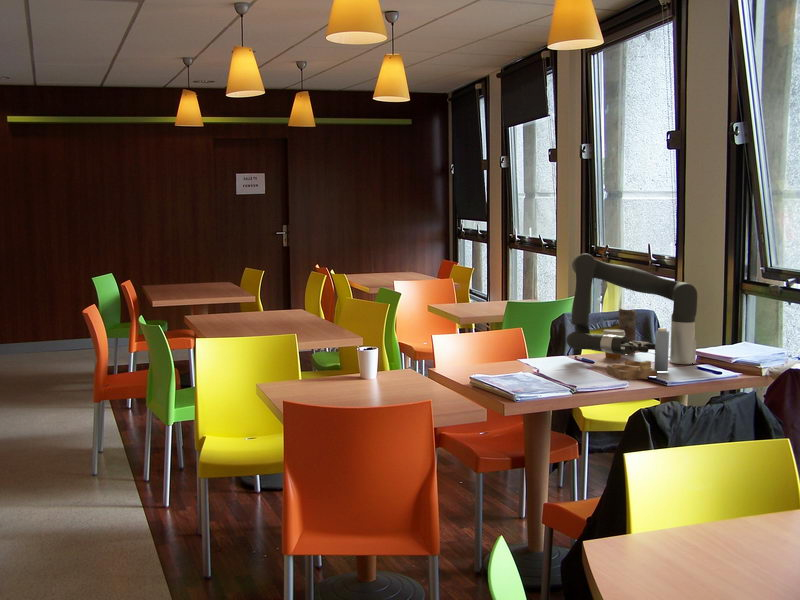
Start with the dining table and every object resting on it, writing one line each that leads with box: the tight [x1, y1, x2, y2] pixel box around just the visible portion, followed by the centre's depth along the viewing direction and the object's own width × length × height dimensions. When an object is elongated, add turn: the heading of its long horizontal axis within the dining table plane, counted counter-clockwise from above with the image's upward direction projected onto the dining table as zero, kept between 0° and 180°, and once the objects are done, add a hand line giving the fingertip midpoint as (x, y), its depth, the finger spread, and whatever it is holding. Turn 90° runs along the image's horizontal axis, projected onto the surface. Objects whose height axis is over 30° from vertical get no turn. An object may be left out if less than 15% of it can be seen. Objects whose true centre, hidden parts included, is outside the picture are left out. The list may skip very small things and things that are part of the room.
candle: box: [618, 308, 637, 355], centre depth 366 cm, size 8×7×20 cm
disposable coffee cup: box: [602, 328, 625, 360], centre depth 355 cm, size 10×10×12 cm
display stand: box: [606, 359, 658, 381], centre depth 316 cm, size 15×15×6 cm
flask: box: [653, 327, 670, 372], centre depth 322 cm, size 5×5×17 cm
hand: (652, 348), depth 325 cm, fingers open, 8 cm apart
